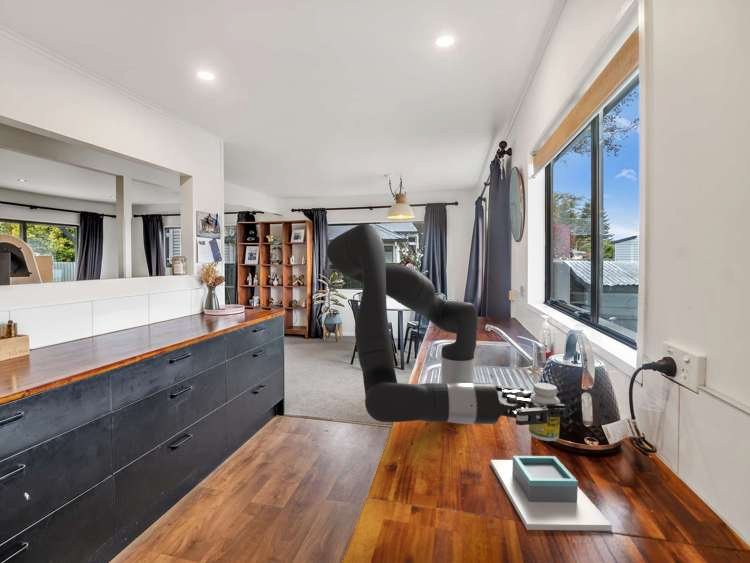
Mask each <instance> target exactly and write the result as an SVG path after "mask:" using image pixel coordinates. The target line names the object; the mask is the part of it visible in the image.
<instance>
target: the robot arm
mask: <svg viewBox="0 0 750 563" xmlns="http://www.w3.org/2000/svg"><path fill="white" fill-rule="evenodd" d="M383 241H384V240H383V239H382V236H381V234H380V233H379V231H378V230H377V229H376V228H375V227H374V226H373V225H371V224H369V223H361V224H359V225H356V226H354V227H351V228H350V229H348V230H346V231H344V232H343V233H341V234H339V235H337V236H336V237H334V238H333V239H331V240H330V242H329V243H328V245H327V248H326V255H327V258H328V260H329V262H330V264H331V265H332V266H333V268H334V269H335V270H337V272H339V273H341V274H342V275H344V276H346V277H348V278H350V279H353V280H355V281H357V282H359V283H362V284H363V285H362V286H363V287H362V292H361V298H360V302H359V306H358V310H357V314H356V318H355V324H354V337H355V345H356V350H357V356H358V362H359V365H360V368H361V371H362V379H363V380H362V381H363V387H364V397H365V399H364V404H365V409H366V412H367V414H368V415H369V416H370V417H371V418H372V419H373V420H375V421H378V422H380V423H402V422H404V423H405V422H414V421H415V422H416V421H423V422H431V423H432V422H435V423H436V422H437V423H440V422H441V423H444V422H445V423H453V424H454V423H455V424H458V425H459V424H460V425H462V424H463V425H464V424H465V425H467V424H468V425H470V424H471V425H495V424H497V423H498V421H499V418H500V417H507V418H509V419H510V418H511V419H515V425H517V426H529V425H532V424H545V423H548V417H560V418H566V417H568V409H569V408H568V406H567V405H565V404H564V403H560V404H542V403H535V402H533V400H532V399H530V396H531V395H532V394H534V393H535V392H534V391H531V390H525V389H526V388H524V387H520V386H519V387H518V386H508V385H506V386H505V385H495V384H494V383H492V382H475V381H474V380H475V377H474V376H475V373H474V372H475V353H476V352H475V351H476V347H477V336H478V326H479V325H478V324H479V315H478V309H477V308H476V305H475V304H474V303H471V302H469V301H468V302H466V301H457V300H456V301H455V300H448V299H445V298H443V297H441V296H440V295H437V294H436V287H435V285H434V284H433V282H432V281H431V280H430V279H429V278H428V277H427V276H425V275H424V274H422V273H421V272H420V271H418V270H417V269H415V268H413V267H410V266H407V265H403V264H402V265H401V264H395V263H390V262H386V251H385V245H384V242H383ZM387 296H388V297H389V298H391V299H393V300H394V301H396V302H397V303H398V304H400V305H402V306H404V307H405V308H407V309H409V310H411V311H413V312H415V313H417V314H419V315H421V316H424V317H425V318H426V319H427V320H429V322H431V323H432V324H433V325H435V326H436V327H437V328H438V329H440V331H444V332H445V333H450V334H451V333H452V334H456V338H455V341H454V342H452V343H447V344H444V345H443V346H442V347H441V352H440V353H441V358H440V359H441V360H440V361H441V362H440V366H441V367H440V368H441V369H440V383H439V382H430V383H429V382H427V383H426V382H425V383H419V384H415V383H402V382H401V383H399V382H398V379H397V375H396V370H395V357H394V350H393V349H394V348H393V343H392V338H391V332H390V326H389V320H388V309H387ZM527 407H528V408H527ZM533 407H537V408H533ZM539 413H540V414H539Z"/></svg>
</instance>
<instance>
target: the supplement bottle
mask: <svg viewBox="0 0 750 563" xmlns="http://www.w3.org/2000/svg"><path fill="white" fill-rule="evenodd" d="M533 392H535V393H534V394H532V395H531V396H530V399H532V400H533V402H535V403H542V404H561V400H560V399H559V398H558V397H557V394H558V388H557V386H556V385H553V383H552V384H551V383H547V382H536V383H534V384H533ZM533 408H537V407H533ZM539 414H540V413H539ZM560 420H561V417H548V423H545V424H532V425H528V432H529V434H530V435H531V436H532V437H533V438H535V439H537V440H541V441H545V442H546V441H547V442H551V441H552V442H553V441H557V440H558V439H559V437H560Z"/></svg>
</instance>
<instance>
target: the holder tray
mask: <svg viewBox="0 0 750 563" xmlns="http://www.w3.org/2000/svg"><path fill="white" fill-rule="evenodd" d="M490 466H491V468H492V470H493V471H494V473H495V475H496V477H497V479H498V480H499V483H500V484H501V485H502V487H503V489H504V491H505V493H506V494H507V496H508V498H509V500H510V502H511V503H512V505H513V507H514V508H515V511H516V512H517V515H518V516H519V518H520V520H521V521H522V523H523V525H524V527H525V528H526V531H586V532H588V531H595V532H596V531H598V532H599V531H603V532H605V531H606V532H611V531H612V530H613V525H612V523H611V522H610V521H609V520H608V519H607V518H606V516H604V514H603V513H602V512H601V511H600V510H599V508H597V506H596V505H595V504H594V503H593V502H592V501H591V499H590V498H589V497H588V496H587V495H586V494H585V492H583V491H582V489H581V488H579V486H578V485H579V480H577V479H576V477H575V476H574V475H573V474H572V473H571V472H570V470H568V468H566V466H564V464H563V463H562V462H561V461H560V459H558V458H557V456H555V455H541V456H540V455H512V459H490Z"/></svg>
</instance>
